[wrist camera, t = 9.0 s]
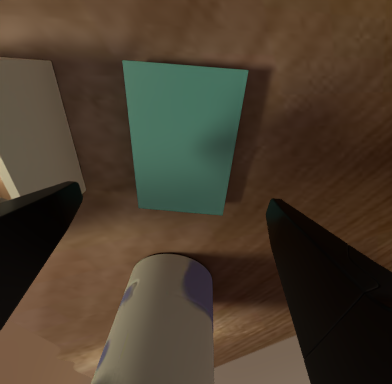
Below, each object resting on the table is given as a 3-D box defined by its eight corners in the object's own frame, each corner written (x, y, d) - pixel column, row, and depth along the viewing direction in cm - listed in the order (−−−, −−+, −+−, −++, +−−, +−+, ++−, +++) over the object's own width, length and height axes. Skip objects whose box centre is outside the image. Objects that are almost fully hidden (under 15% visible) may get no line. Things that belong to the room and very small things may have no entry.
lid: (221, 201, 19) (222, 215, 17) (144, 195, 19) (138, 208, 17) (243, 69, 13) (248, 70, 11) (133, 60, 13) (122, 60, 11)
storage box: (86, 190, 19) (40, 237, 13) (22, 184, 19) (-48, 229, 14) (51, 60, 13) (-49, 58, 8) (-40, 53, 13) (-194, 47, 8)
